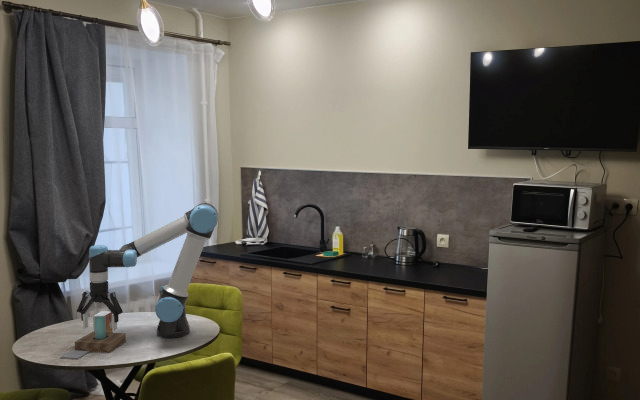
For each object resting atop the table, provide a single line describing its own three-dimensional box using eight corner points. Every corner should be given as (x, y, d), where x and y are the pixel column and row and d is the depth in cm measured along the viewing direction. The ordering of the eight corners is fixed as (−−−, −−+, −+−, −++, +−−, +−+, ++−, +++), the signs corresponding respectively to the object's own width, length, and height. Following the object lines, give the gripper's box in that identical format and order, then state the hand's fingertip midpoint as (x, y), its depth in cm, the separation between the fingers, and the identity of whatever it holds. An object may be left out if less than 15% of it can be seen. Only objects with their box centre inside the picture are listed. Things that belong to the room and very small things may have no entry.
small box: (105, 338, 256) (104, 315, 255) (93, 338, 257) (92, 315, 256) (113, 332, 264) (112, 311, 263) (101, 332, 265) (101, 310, 264)
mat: (88, 352, 238) (88, 351, 238) (78, 359, 230) (77, 358, 230) (71, 351, 239) (71, 350, 239) (60, 358, 231) (60, 356, 231)
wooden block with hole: (126, 341, 251) (125, 333, 251) (109, 352, 238) (109, 343, 237) (93, 340, 254) (92, 331, 253) (75, 350, 240) (74, 341, 240)
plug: (108, 344, 247) (107, 316, 246) (103, 348, 243) (102, 319, 242) (99, 344, 248) (98, 315, 247) (93, 347, 244) (92, 318, 243)
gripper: (130, 280, 245) (131, 327, 247) (77, 277, 249) (78, 324, 250) (121, 284, 238) (122, 333, 239) (67, 281, 241) (68, 329, 243)
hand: (100, 328), depth 245 cm, fingers open, 13 cm apart
